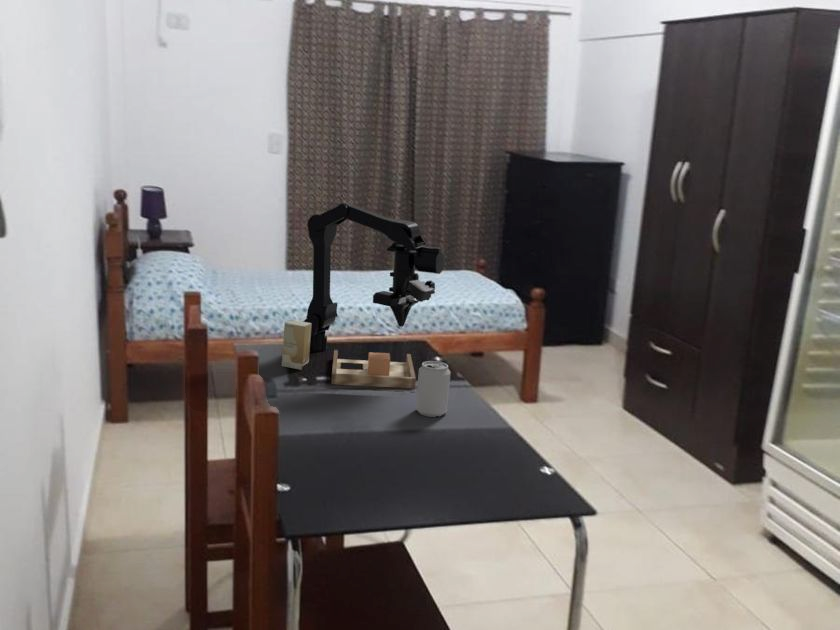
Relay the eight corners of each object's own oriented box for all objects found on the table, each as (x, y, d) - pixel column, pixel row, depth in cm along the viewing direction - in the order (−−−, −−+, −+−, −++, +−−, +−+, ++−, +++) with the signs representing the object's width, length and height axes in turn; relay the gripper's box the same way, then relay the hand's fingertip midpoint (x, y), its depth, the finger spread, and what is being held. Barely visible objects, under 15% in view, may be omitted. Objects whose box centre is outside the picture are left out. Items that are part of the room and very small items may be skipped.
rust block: (368, 374, 224) (369, 358, 223) (367, 368, 229) (368, 352, 228) (389, 375, 224) (390, 359, 223) (388, 369, 229) (389, 353, 228)
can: (410, 408, 204) (413, 360, 202) (438, 406, 208) (442, 358, 205) (423, 419, 198) (427, 369, 195) (452, 416, 201) (456, 367, 198)
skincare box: (281, 366, 229) (282, 322, 226) (288, 362, 233) (290, 319, 230) (303, 370, 227) (305, 325, 224) (309, 366, 231) (312, 322, 228)
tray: (331, 388, 214) (331, 374, 213) (333, 363, 235) (334, 350, 235) (414, 392, 216) (415, 378, 215) (409, 366, 237) (410, 354, 236)
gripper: (406, 277, 215) (403, 337, 219) (449, 270, 230) (445, 326, 234) (372, 271, 222) (370, 329, 225) (415, 264, 237) (412, 319, 240)
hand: (401, 326), depth 231 cm, fingers closed
